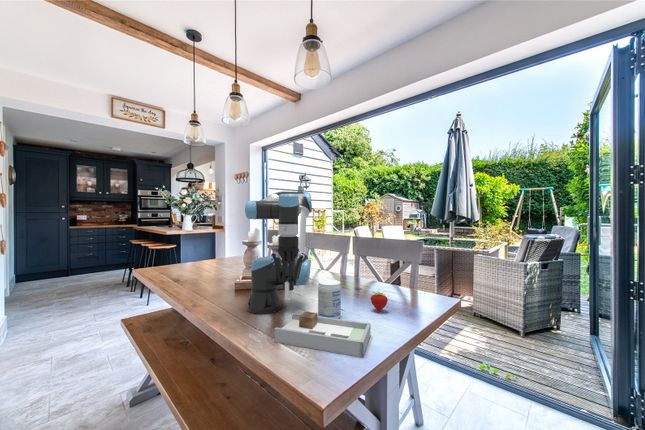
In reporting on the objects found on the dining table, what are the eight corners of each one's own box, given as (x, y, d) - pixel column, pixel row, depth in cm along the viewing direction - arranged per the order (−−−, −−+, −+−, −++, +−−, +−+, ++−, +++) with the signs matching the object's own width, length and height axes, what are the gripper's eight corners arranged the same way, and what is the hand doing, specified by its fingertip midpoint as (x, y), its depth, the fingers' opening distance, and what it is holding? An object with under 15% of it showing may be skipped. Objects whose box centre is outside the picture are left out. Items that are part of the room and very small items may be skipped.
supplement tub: (337, 322, 107) (337, 285, 107) (314, 319, 110) (314, 283, 110) (343, 314, 116) (343, 280, 116) (322, 311, 119) (322, 278, 119)
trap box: (274, 341, 91) (274, 328, 91) (293, 324, 105) (293, 312, 105) (363, 357, 81) (363, 342, 81) (370, 335, 96) (370, 323, 96)
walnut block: (299, 327, 97) (299, 316, 97) (304, 321, 101) (304, 311, 101) (312, 329, 95) (312, 317, 95) (316, 323, 100) (316, 312, 100)
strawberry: (386, 315, 115) (386, 291, 115) (368, 312, 118) (368, 289, 118) (389, 310, 120) (389, 288, 120) (372, 308, 124) (372, 286, 123)
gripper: (267, 235, 99) (267, 300, 99) (300, 236, 95) (300, 303, 95) (277, 234, 106) (277, 294, 106) (308, 235, 102) (308, 297, 102)
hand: (288, 298), depth 100 cm, fingers closed
